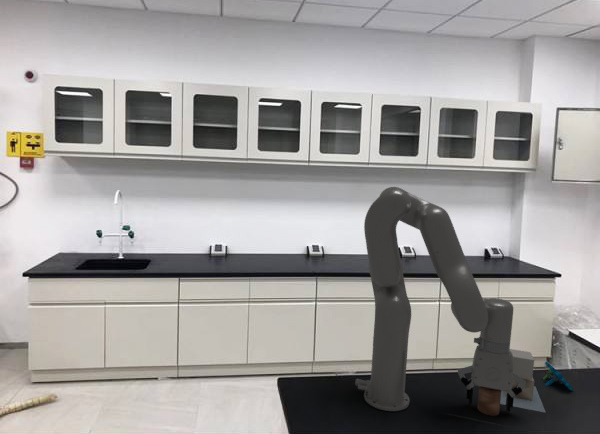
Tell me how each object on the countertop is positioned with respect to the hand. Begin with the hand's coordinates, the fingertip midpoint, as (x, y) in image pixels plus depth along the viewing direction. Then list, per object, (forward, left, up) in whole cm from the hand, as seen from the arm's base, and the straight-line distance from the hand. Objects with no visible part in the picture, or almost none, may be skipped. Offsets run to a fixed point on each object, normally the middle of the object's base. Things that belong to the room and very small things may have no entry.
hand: (488, 405), depth 122 cm
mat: (+8, +13, -2) cm, 15 cm away
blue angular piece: (+22, +25, -2) cm, 33 cm away
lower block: (+9, +14, -1) cm, 17 cm away
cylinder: (0, 0, -2) cm, 2 cm away
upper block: (+9, +14, +5) cm, 17 cm away
